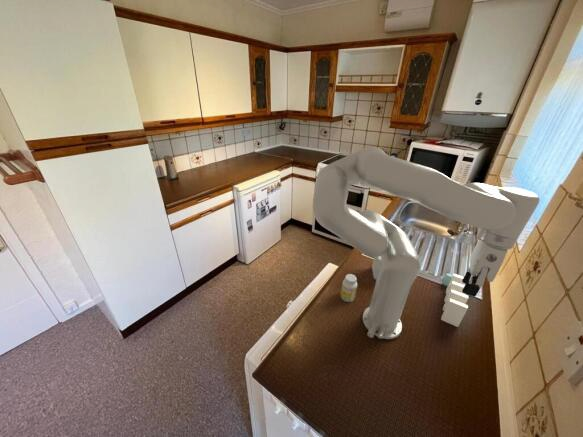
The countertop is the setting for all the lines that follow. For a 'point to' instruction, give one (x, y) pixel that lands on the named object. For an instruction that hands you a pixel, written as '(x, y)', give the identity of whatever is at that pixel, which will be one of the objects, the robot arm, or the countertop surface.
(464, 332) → the countertop surface
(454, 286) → the domino
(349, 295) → the supplement bottle
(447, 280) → the domino
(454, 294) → the domino
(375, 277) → the small box
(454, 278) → the domino
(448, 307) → the domino
